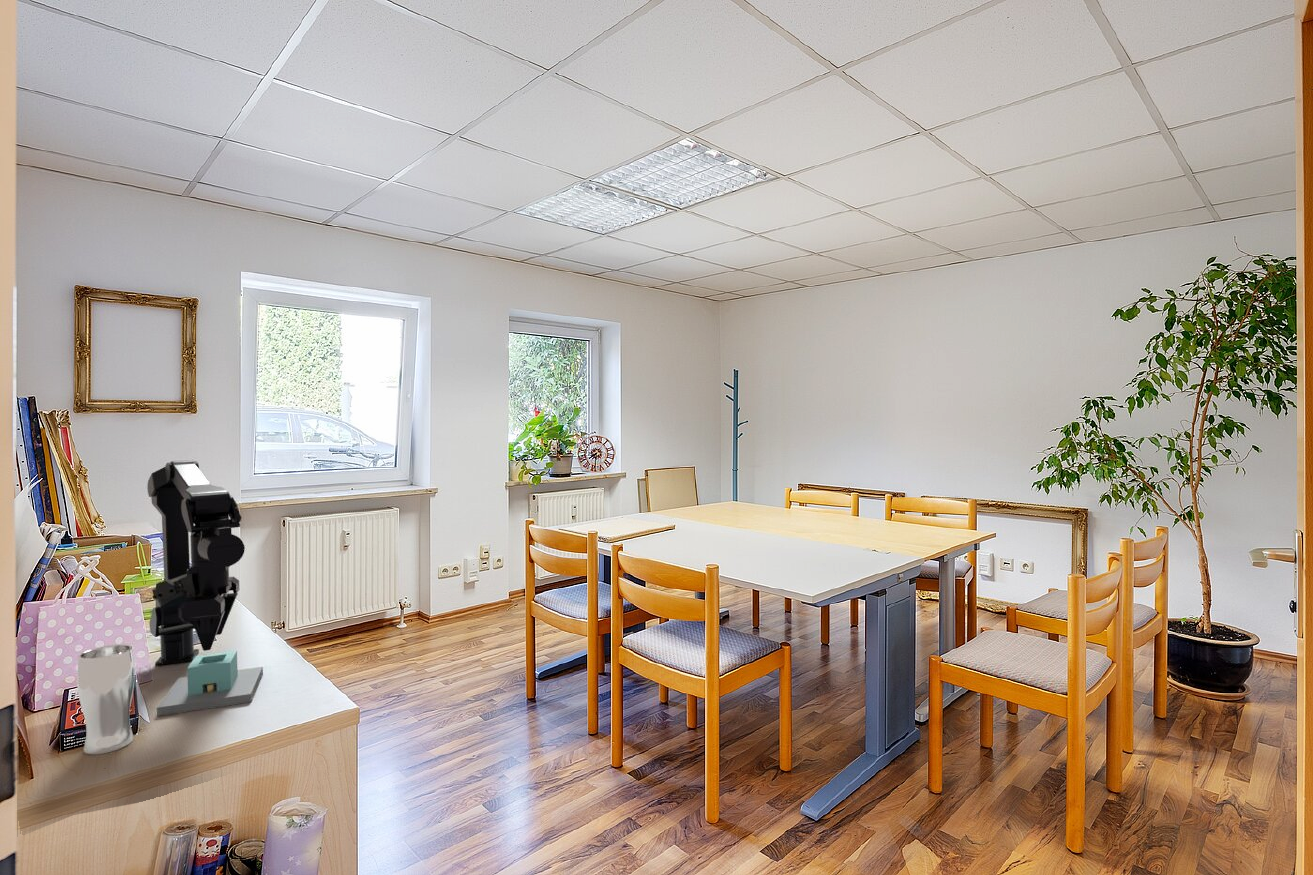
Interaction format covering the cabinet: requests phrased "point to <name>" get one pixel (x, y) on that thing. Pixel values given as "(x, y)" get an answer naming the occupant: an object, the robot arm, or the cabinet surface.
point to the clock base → (210, 694)
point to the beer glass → (106, 696)
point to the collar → (212, 671)
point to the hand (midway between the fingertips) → (212, 642)
